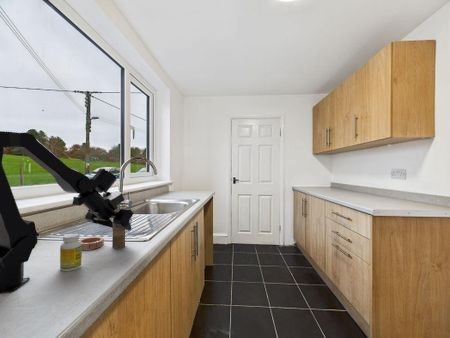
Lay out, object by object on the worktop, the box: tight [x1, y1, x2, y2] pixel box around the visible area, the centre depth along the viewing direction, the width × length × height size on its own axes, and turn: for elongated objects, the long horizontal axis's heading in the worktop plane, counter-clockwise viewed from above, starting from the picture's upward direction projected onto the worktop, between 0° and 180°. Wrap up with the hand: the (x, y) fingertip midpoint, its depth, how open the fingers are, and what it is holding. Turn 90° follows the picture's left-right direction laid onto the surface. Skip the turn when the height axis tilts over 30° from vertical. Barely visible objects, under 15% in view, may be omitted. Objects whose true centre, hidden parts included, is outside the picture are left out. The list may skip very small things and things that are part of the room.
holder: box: [78, 236, 105, 251], centre depth 90 cm, size 9×9×2 cm
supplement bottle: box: [59, 233, 83, 272], centre depth 70 cm, size 5×5×10 cm
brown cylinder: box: [111, 224, 126, 250], centre depth 90 cm, size 4×4×12 cm
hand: (122, 228), depth 91 cm, fingers open, 8 cm apart
